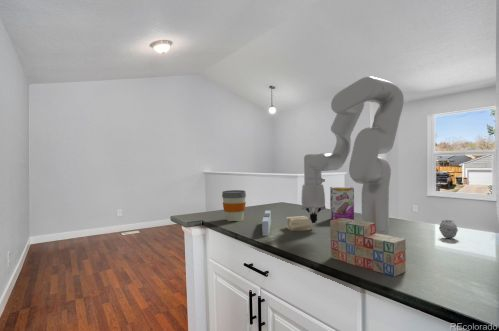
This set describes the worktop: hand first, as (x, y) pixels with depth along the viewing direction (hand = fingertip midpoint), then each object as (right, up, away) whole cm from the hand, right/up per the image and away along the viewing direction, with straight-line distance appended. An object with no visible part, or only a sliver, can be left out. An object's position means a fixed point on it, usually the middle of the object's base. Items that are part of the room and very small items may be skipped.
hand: (313, 222), depth 141 cm
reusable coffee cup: (-37, -3, +24) cm, 44 cm away
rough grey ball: (+47, -2, -21) cm, 52 cm away
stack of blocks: (+6, -4, -47) cm, 48 cm away
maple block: (-7, -3, +1) cm, 7 cm away
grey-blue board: (-21, -3, +2) cm, 21 cm away
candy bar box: (+18, -2, +18) cm, 26 cm away
